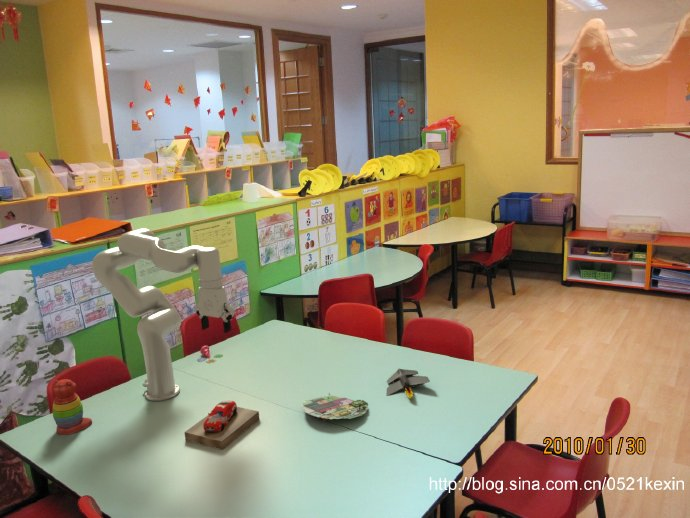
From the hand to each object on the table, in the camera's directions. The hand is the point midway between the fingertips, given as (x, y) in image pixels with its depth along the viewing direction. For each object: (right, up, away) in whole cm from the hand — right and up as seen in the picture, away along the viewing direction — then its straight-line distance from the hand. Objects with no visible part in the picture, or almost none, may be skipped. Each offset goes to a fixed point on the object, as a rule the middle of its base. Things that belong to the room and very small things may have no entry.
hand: (216, 330), depth 203 cm
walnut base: (+5, -32, -11) cm, 34 cm away
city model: (+42, -28, -3) cm, 51 cm away
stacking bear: (-49, -33, -4) cm, 59 cm away
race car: (+4, -29, -12) cm, 31 cm away
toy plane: (+67, -23, +12) cm, 72 cm away
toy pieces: (-14, -19, +49) cm, 54 cm away
